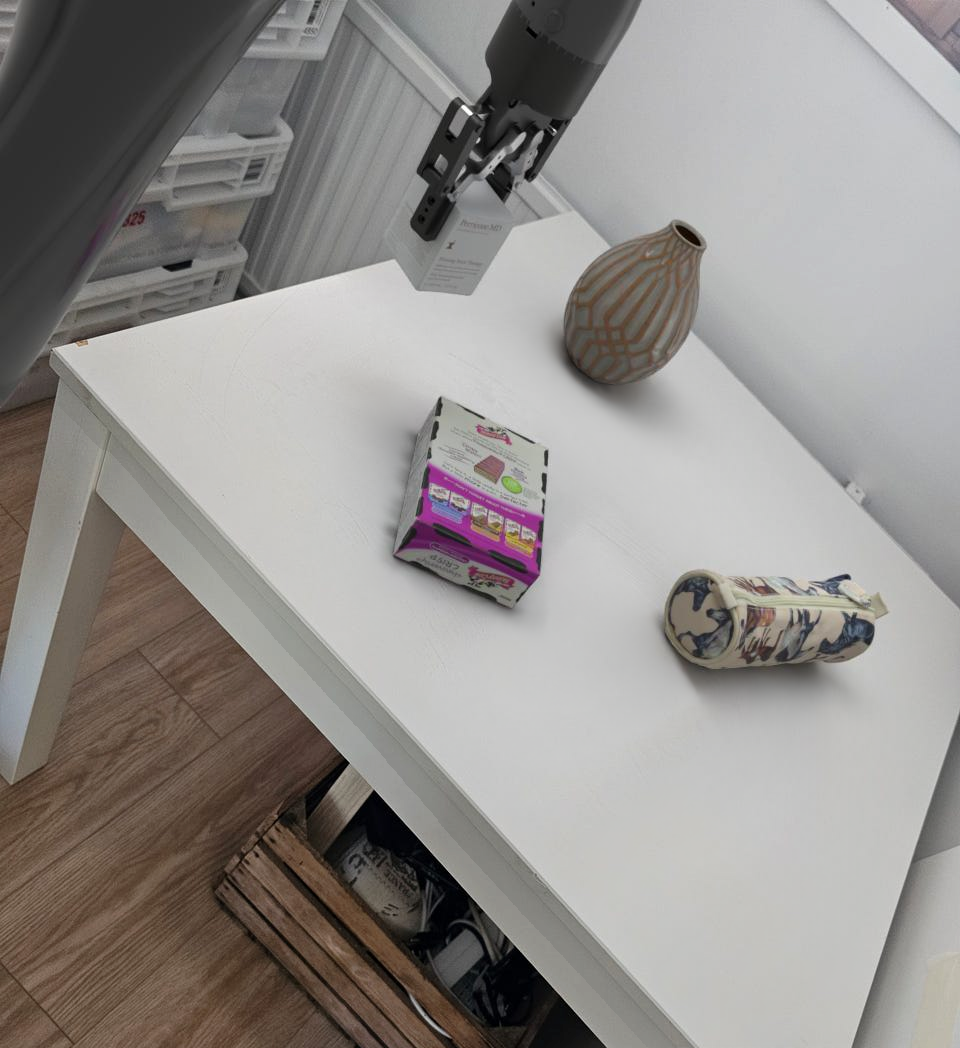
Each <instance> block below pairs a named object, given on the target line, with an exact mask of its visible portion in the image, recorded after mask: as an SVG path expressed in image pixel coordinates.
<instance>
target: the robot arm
mask: <svg viewBox="0 0 960 1048" xmlns="http://www.w3.org/2000/svg"><path fill="white" fill-rule="evenodd" d="M287 1H288V0H18V1H17V7H16V13H15V17H14V21H13V25H12V29H11V33H10V37H9V40H8V42H7V45H6V49H5V52H4V55H3V58H2V61H1V64H0V410H1V409H2V408H3V406H4V405H5V404H6V403H7V401H9V399H10V398H11V397H12V395H13V394H14V393H15V391H16V390H17V389H18V387H19V386H20V385H21V384H22V382H23V381H24V380H25V378H26V376H27V375H28V373H29V372H30V370H31V369H32V367H33V366H34V364H35V363H36V361H37V359H38V358H39V356H40V355H41V354H42V352H43V351H44V349H45V347H46V346H47V344H48V343H49V342H50V341H51V339H52V337H53V336H54V334H55V333H56V331H57V329H58V328H59V326H60V324H61V323H62V321H63V320H64V318H65V317H66V315H67V314H68V313H69V311H70V309H71V308H72V306H73V304H74V303H75V301H76V299H77V298H78V297H79V295H80V293H81V292H82V291H83V289H84V287H85V285H86V284H87V282H88V281H89V279H90V278H91V276H92V275H93V273H94V271H95V270H96V268H97V267H98V265H99V264H100V262H101V260H102V259H103V258H104V256H105V254H106V253H107V251H108V249H109V248H110V246H111V244H112V243H113V241H114V240H115V239H116V237H117V235H118V234H119V232H120V231H121V229H122V227H124V224H125V223H126V221H127V220H128V218H129V216H130V215H131V213H132V212H133V211H134V209H135V207H136V206H137V204H138V202H139V200H140V199H141V197H142V196H143V195H144V193H145V192H146V190H147V189H148V187H149V186H150V184H151V183H152V181H153V179H154V177H155V176H156V174H157V173H158V171H160V169H161V167H162V166H163V165H164V163H165V161H166V160H167V158H168V157H169V156H170V154H171V152H172V151H173V150H174V148H175V147H176V146H177V144H179V142H180V140H182V138H183V136H184V135H185V133H186V132H187V131H188V129H189V128H190V127H191V125H192V124H193V123H194V121H195V120H196V119H197V117H198V116H199V115H200V114H201V112H202V110H203V109H204V108H205V107H206V105H207V104H208V103H209V101H210V100H211V99H212V97H213V96H214V95H215V94H216V92H217V91H218V90H219V88H220V87H221V86H222V85H223V83H224V82H225V80H226V79H227V78H228V76H230V74H231V72H232V71H233V69H234V68H235V67H236V66H237V65H238V63H239V62H240V61H241V60H242V58H243V57H244V56H245V54H246V53H247V52H248V50H249V49H250V48H251V47H252V45H253V44H254V43H255V41H257V39H258V38H259V36H260V35H261V34H262V33H263V32H264V30H265V29H266V28H267V26H268V25H269V24H270V23H271V21H272V20H273V19H274V18H275V16H276V15H277V14H278V13H279V11H280V10H281V9H282V7H283V6H284V5H285V3H286V2H287ZM642 2H643V0H511V1H510V3H509V4H508V7H507V9H506V11H505V13H504V14H503V16H502V17H501V20H500V22H499V24H498V26H497V28H496V30H495V31H494V33H493V36H492V37H491V39H490V41H489V44H488V45H487V47H486V49H485V53H484V60H485V63H486V67H487V68H488V71H489V73H490V84H489V85H488V86H487V87H486V89H485V91H483V94H481V96H480V97H479V98H478V99H477V100H476V102H475V103H474V104H471V105H469V104H468V103H466V102H465V101H464V100H463V99H462V98H461V97H460V96H455V97H454V98H453V99H452V100H451V101H450V102H449V104H448V106H447V108H446V109H445V112H444V114H443V116H442V118H441V119H440V122H439V124H438V125H437V128H436V130H435V132H434V134H433V136H432V138H431V140H430V142H429V144H428V146H427V148H426V150H425V152H424V154H423V156H422V158H421V160H420V162H419V164H418V166H417V167H416V170H415V171H416V173H417V174H418V175H419V176H420V177H421V178H423V179H424V180H425V181H426V182H427V183H428V184H429V186H428V188H427V190H426V192H425V194H424V195H423V197H422V199H421V201H420V203H419V205H418V207H417V209H416V210H415V212H414V214H413V216H412V218H411V220H410V226H411V228H412V229H413V230H414V231H415V232H416V233H417V234H418V235H419V236H420V237H421V238H422V239H423V240H424V241H426V242H429V241H434V240H435V239H436V238H437V236H438V234H439V232H440V231H441V229H442V227H443V225H444V224H445V222H446V220H447V218H448V216H449V215H450V213H451V211H452V209H453V208H454V206H455V204H456V202H457V201H456V200H457V199H458V198H459V197H460V195H461V194H462V193H463V192H464V191H465V190H466V189H467V188H468V187H469V186H470V184H471V183H472V182H473V181H483V180H484V179H485V180H486V181H487V182H488V184H489V185H490V186H491V188H492V189H493V190H494V192H495V193H496V194H497V196H498V197H499V198H500V199H501V201H502V202H503V203H504V205H506V202H507V200H508V199H509V197H510V196H511V194H512V193H514V192H517V191H518V190H519V188H521V186H522V185H523V183H524V180H525V181H526V182H527V183H529V184H530V183H532V182H533V181H535V180H536V178H537V177H538V175H539V174H540V172H541V170H542V169H543V168H544V166H545V164H546V162H547V161H548V159H549V158H550V156H551V155H552V153H553V151H554V150H555V148H556V147H557V145H558V143H559V141H560V140H561V138H562V137H563V135H564V134H565V132H566V131H567V129H568V127H569V126H570V124H571V122H572V121H573V118H574V117H575V116H577V114H578V113H579V111H580V110H581V108H582V107H583V105H584V103H585V101H586V100H587V98H588V97H589V95H590V93H591V92H592V90H593V88H594V86H596V84H597V82H598V80H599V79H600V77H601V75H602V73H604V70H605V69H606V67H607V66H608V64H609V62H610V60H611V59H612V58H613V56H614V54H615V52H616V51H617V49H618V47H619V46H620V44H621V42H622V41H623V40H624V38H625V36H626V35H627V33H628V31H629V30H630V28H631V25H632V24H633V21H634V20H635V18H636V15H637V13H638V10H639V8H640V6H641V4H642ZM471 152H473V153H474V154H475V155H476V156H477V157H478V158H479V159H480V160H479V161H478V160H476V159H474V158H473V156H471V155H470V154H471ZM440 156H441V157H440ZM463 168H464V170H465V172H464V173H463V174H462V175H461V176H460V177H459V178H458V179H457V177H458V175H459V173H460V171H461V169H463ZM416 173H415V174H416ZM456 179H457V180H456ZM455 181H456V182H455Z"/></svg>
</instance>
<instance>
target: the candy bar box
mask: <svg viewBox="0 0 960 1048" xmlns="http://www.w3.org/2000/svg"><path fill="white" fill-rule="evenodd" d="M549 452H550V449H549V448H548V447H546V446H543V445H541V444H540V443H538V442H536V441H534V440H532V439H530V438H527V437H526V436H524V435H522V434H519V433H517V432H516V431H514V430H511V429H509V428H507V427H506V426H504V425H501V424H499V423H497V422H495V421H493V420H492V419H490V418H487V417H486V416H483V415H482V414H479V413H478V412H475V411H474V410H472V409H469V408H467V407H465V406H463V405H461V404H459V403H458V402H455V401H453V400H451V399H449V398H447V397H446V396H443V395H440V396H439V397H438V399H436V402H435V403H434V405H433V407H432V408H431V410H430V412H429V413H428V415H427V417H426V418H425V420H424V422H423V424H422V425H421V427H420V429H419V431H418V433H417V436H416V442H415V447H414V452H413V455H412V460H411V467H410V471H409V474H408V481H407V485H406V490H405V494H404V498H403V504H402V508H401V513H400V519H399V524H398V528H397V534H396V539H395V544H394V547H393V554H392V555H393V556H394V557H396V558H399V559H400V560H403V561H405V562H406V563H409V564H411V565H414V566H416V567H418V568H421V569H422V570H425V571H428V572H430V573H432V574H434V575H437V576H439V577H441V578H444V579H446V580H448V581H450V582H452V583H453V584H456V585H459V586H461V587H463V588H465V589H468V590H470V591H472V592H474V593H477V594H479V595H481V596H483V597H485V598H488V599H490V600H492V601H495V602H497V603H498V604H501V605H503V606H505V607H507V608H510V609H513V608H514V607H515V606H516V605H517V604H518V603H519V601H520V600H521V599H522V597H524V595H525V593H526V592H527V591H528V590H529V589H530V588H531V587H532V586H533V584H535V582H536V581H537V580H538V579H539V577H540V576H541V571H542V569H541V568H542V560H543V559H542V558H543V557H542V556H543V541H544V527H545V526H544V524H545V511H546V510H545V509H546V507H545V506H546V500H547V499H546V498H547V485H548V484H547V482H548V466H549V454H550V453H549Z"/></svg>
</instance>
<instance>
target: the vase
mask: <svg viewBox="0 0 960 1048" xmlns="http://www.w3.org/2000/svg"><path fill="white" fill-rule="evenodd" d="M707 249H708V244H707V241H706V239H705V238H704V236H703V235H702V233H700V231H698V230H697V229H696V228H695V227H694V226H693V225H691V224H689V223H688V222H686V221H684V220H682V219H677V218H675V219H672V220H671V221H670V222H669V223H668V224H667V225H666V226H665V227H663V228H660V229H658V230H657V231H654V232H650V233H647V234H643V235H639V236H637V237H633V238H630V239H627V240H625V241H622V242H620V243H618V244H616V245H614V246H612V247H610V248H609V249H607V250H606V251H604V252H603V253H602V254H600V255H598V256H597V257H596V258H595V259H594V260H593V261H592V262H591V263H590V264H589V265H588V266H587V267H586V269H585V270H584V271H582V274H581V275H580V276H579V277H578V278H577V280H576V282H575V284H574V286H573V287H572V289H571V291H570V293H569V295H568V298H567V302H566V303H565V309H564V313H563V321H562V323H563V327H562V329H563V336H564V341H565V344H566V345H565V346H566V348H567V353H568V356H569V357H570V359H571V361H572V362H573V364H574V365H575V366H576V368H578V369H579V371H581V373H583V374H585V376H587V377H589V378H590V379H592V380H594V381H595V382H599V383H601V384H606V385H627V384H633V383H637V382H639V381H643V380H646V379H647V378H649V377H651V376H653V375H655V374H656V373H658V372H659V371H660V370H662V369H663V368H664V367H665V366H667V365H668V363H670V361H671V360H672V359H673V358H674V357H675V356H676V355H677V354H678V352H679V351H680V349H681V348H682V347H683V345H684V343H685V342H686V340H687V339H688V337H689V334H690V333H691V331H692V328H693V325H694V323H695V320H696V316H697V312H698V308H699V300H700V286H701V263H702V258H703V255H704V253H705V251H706V250H707Z"/></svg>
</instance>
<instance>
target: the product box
mask: <svg viewBox="0 0 960 1048" xmlns="http://www.w3.org/2000/svg"><path fill="white" fill-rule="evenodd" d="M465 170H466V169H465V168H464V169H463V168H462V169H461V171H460V173H459V175H458V177H457V179H458V178H459V177H460V176H461V175H462V174H463V173H464V172H465ZM457 179H456V180H457ZM455 182H456V181H455ZM428 186H429V184H428V183H427V182H426V181H425V180H424V179H423V178H421V177H420V176H419V175H418V174H417V173H415V175H414V177H413V178H412V181H411V182H410V184H409V186H408V188H407V190H406V192H405V193H404V195H403V197H402V199H401V201H400V203H399V205H398V206H397V208H396V210H395V213H394V214H393V216H392V218H391V220H390V222H389V223H388V225H387V227H386V229H385V230H384V233H383V234H382V237H381V240H382V242H383V243H384V246H385V247H386V248H387V251H388V252H389V253H390V254H391V256H392V257H393V259H394V260H395V262H396V263H397V265H398V266H399V267H400V269H401V270H402V272H403V273H404V274H405V276H406V277H407V279H408V281H409V282H410V284H411V285H412V286H413V288H414V289H415V291H417V292H424V293H425V292H430V293H438V294H439V293H441V294H450V295H457V296H465V297H469V296H470V297H471V296H472V295H473V294H474V293H475V291H476V289H477V288H478V285H479V284H480V283H481V281H482V279H483V277H484V276H485V275H486V273H487V272H488V270H489V268H490V266H491V265H492V263H493V261H494V260H495V258H496V257H497V255H498V253H499V251H500V250H501V249H502V246H503V245H504V243H505V242H506V241H507V238H508V237H509V235H510V233H511V232H512V230H513V229H514V227H515V225H516V224H517V219H516V218H515V216H514V215H513V213H512V212H511V211H510V209H508V207H507V206H506V204H504V203H503V202H502V201H501V199H500V198H499V197H498V196H497V194H496V193H495V192H494V190H493V189H492V188H491V186H490V185H489V184H488V182H487V181H486V180H485V179H484V180H483V181H473V182H472V183H471V184H470V186H469V187H468V188H467V189H466V190H465V191H464V192H463V193H462V194H461V195H460V197H459V198H458V199H457V200H456V201H457V202H456V204H455V206H454V208H453V209H452V211H451V213H450V215H449V216H448V218H447V220H446V222H445V224H444V225H443V227H442V229H441V231H440V232H439V234H438V236H437V238H436V239H435V240H434V241H429V242H426V241H424V240H423V239H422V238H421V237H420V236H419V235H418V234H417V233H416V232H415V231H414V230H413V229H412V228H411V226H410V220H411V218H412V216H413V214H414V212H415V210H416V209H417V207H418V205H419V203H420V201H421V199H422V197H423V195H424V194H425V192H426V190H427V188H428Z"/></svg>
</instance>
